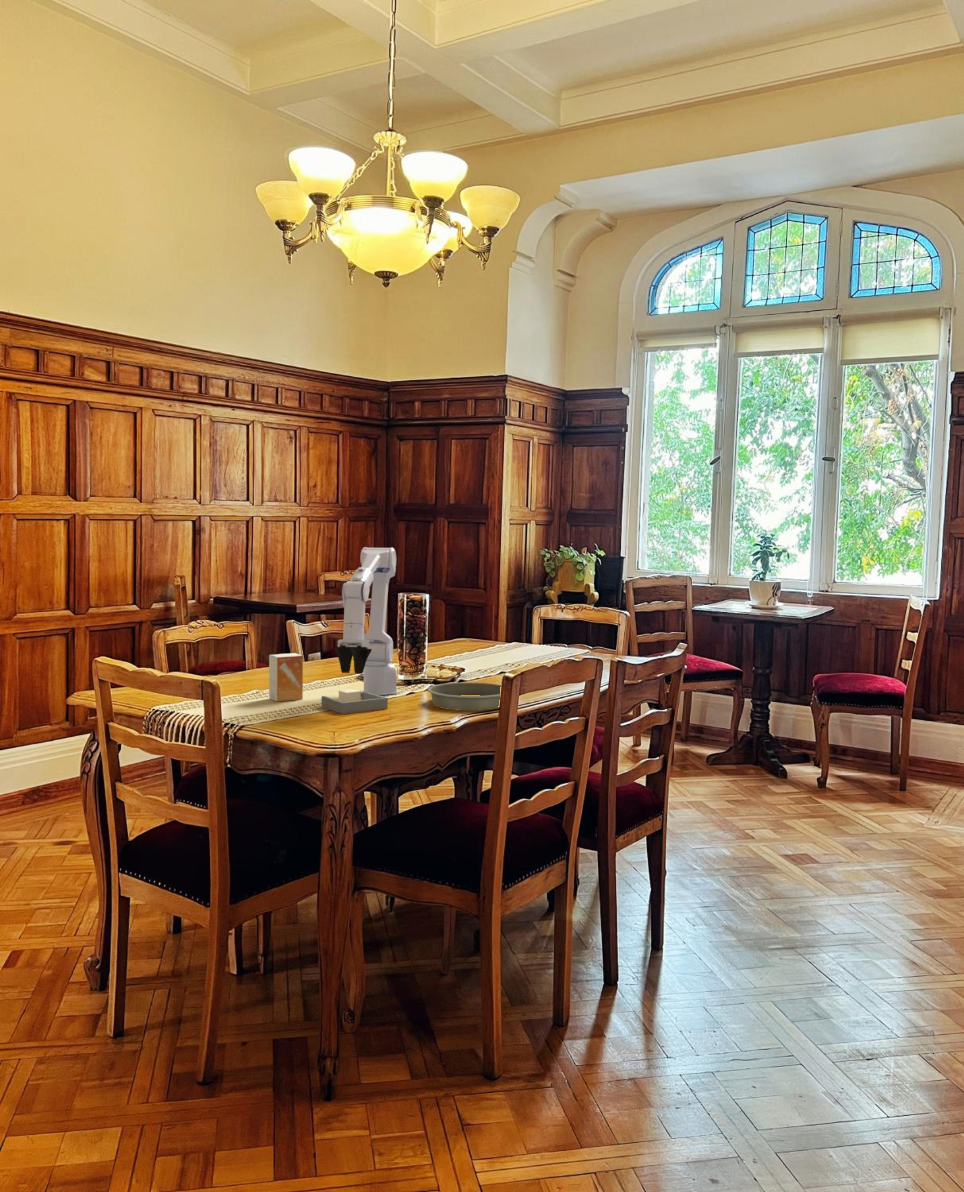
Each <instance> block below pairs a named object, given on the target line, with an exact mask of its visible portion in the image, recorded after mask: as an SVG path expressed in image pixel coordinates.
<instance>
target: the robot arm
mask: <svg viewBox="0 0 964 1192" xmlns="http://www.w3.org/2000/svg"><path fill="white" fill-rule="evenodd" d="M360 565H361V567H360V566H359V567H358V568H357V569H355V571H354V573H353V574H352V576H351V578H350V580H349V581H346V582H344V583H343V585H342V590H341V596H342V607H343V608H344V609H343V612H344V613H343V634H342V639H338V640H337V647H335V648H334V651H335V653H336V656H337V658H338V661H339V667H340V671H341V674H350V671H351V667H352V665H351V664H352V660H353V670H354V674H359V675H363V690H360V691H361V695H362V692H369V693H372V694H376V695H379V696H386V695H394V694H396V695H397V694H398V693H399V692H398V691H397V670H396V667H395V665H394V664H393V663H391V662H392V661H393V660H394V641H393V638H392V637H391V636H390V635H389V634H387V632H386V622H387V621H386V618H387V608H388V607H387V606H388V593H389V584H390V579H391V578H393V577H395V576H396V570H397V568H396V567H397V552H396V550H395V548H394V547H366V546H365V547H363V548H362V549H361V551H360ZM371 585H372V588H371ZM370 589H371V603H370V612H369V613H370V615H369V625H368V626H369V628H368V631H367V632H366V633H365V619H366V618H365V617H366V602H367V601H368V600H369V594H370Z"/></svg>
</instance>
